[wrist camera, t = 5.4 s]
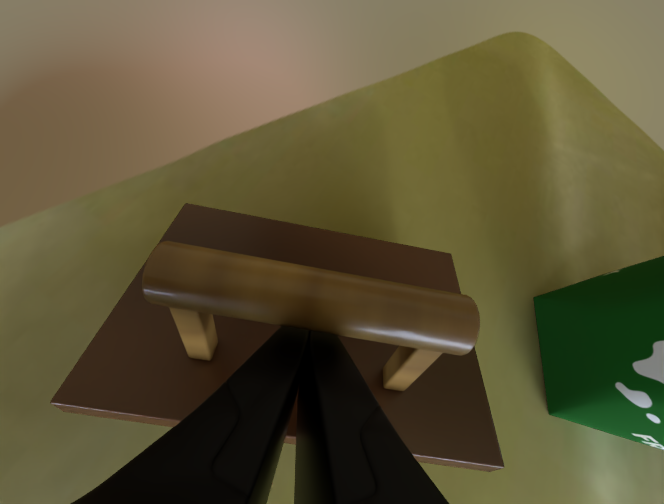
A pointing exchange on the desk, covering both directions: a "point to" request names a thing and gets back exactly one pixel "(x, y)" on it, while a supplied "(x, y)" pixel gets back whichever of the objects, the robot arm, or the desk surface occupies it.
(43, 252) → the desk surface
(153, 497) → the robot arm
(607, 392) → the milk carton
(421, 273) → the tea lid
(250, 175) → the desk surface
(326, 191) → the desk surface
